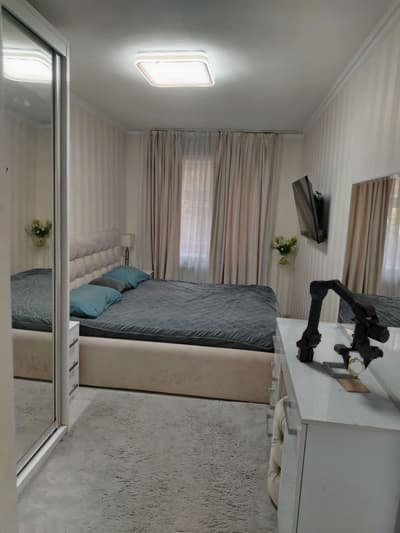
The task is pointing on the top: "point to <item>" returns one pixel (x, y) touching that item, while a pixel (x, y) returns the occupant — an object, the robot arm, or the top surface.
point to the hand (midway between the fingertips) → (355, 369)
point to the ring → (353, 362)
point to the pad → (353, 385)
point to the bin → (338, 375)
